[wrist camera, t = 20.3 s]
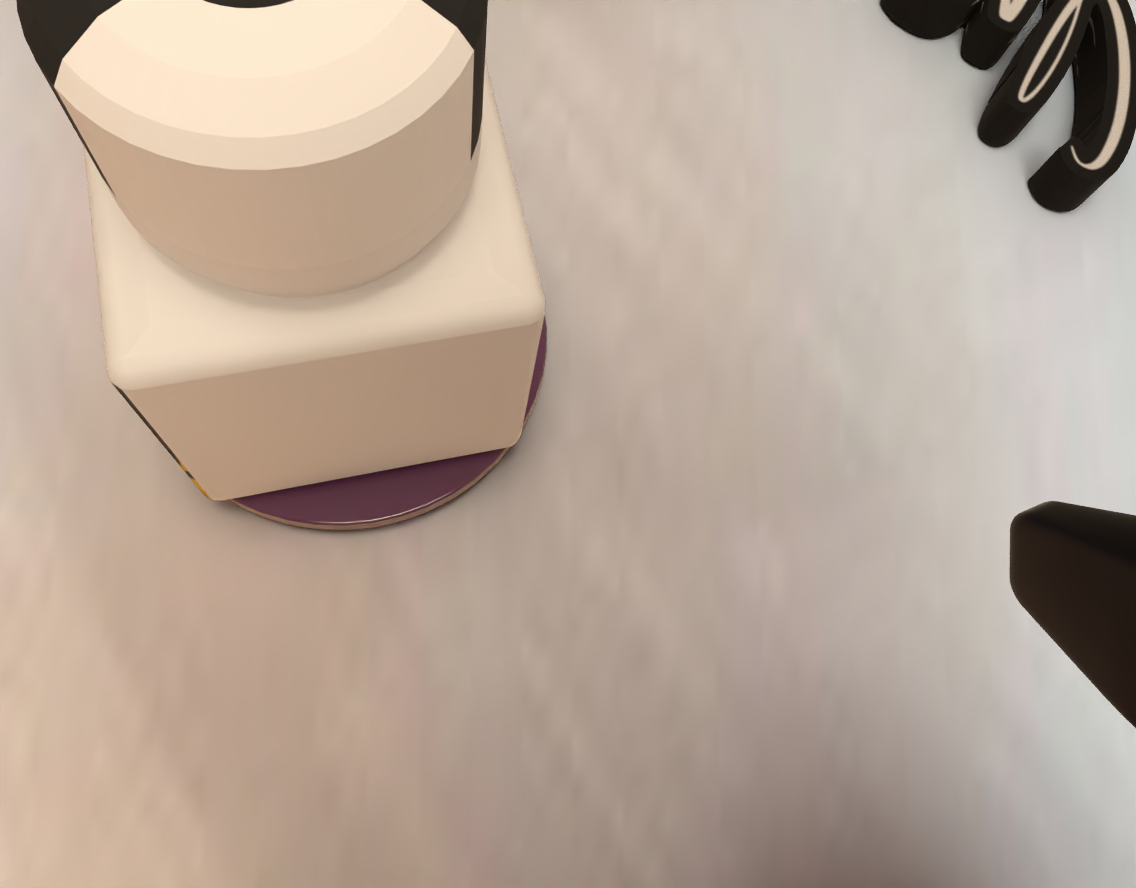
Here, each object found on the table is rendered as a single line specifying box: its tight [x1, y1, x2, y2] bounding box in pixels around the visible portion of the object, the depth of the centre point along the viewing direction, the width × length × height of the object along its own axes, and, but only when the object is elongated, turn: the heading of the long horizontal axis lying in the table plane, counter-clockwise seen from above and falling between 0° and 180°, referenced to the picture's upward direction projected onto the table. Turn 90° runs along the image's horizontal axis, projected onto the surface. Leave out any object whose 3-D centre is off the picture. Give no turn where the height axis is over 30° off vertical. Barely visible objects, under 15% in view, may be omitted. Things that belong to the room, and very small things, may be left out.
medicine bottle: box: [17, 0, 546, 501], centre depth 18 cm, size 7×7×12 cm
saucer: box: [228, 315, 547, 530], centre depth 24 cm, size 10×10×1 cm
